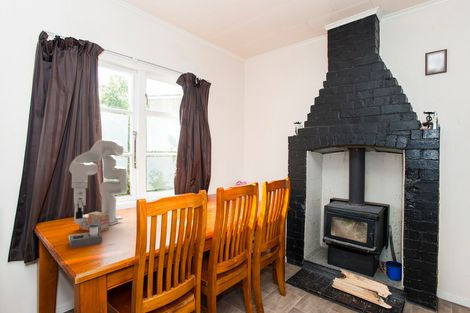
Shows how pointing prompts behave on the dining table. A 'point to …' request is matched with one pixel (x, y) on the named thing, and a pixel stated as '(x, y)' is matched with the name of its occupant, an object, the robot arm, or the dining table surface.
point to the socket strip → (84, 240)
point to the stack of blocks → (95, 221)
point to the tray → (73, 235)
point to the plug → (75, 216)
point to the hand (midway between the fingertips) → (78, 217)
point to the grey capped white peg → (93, 229)
